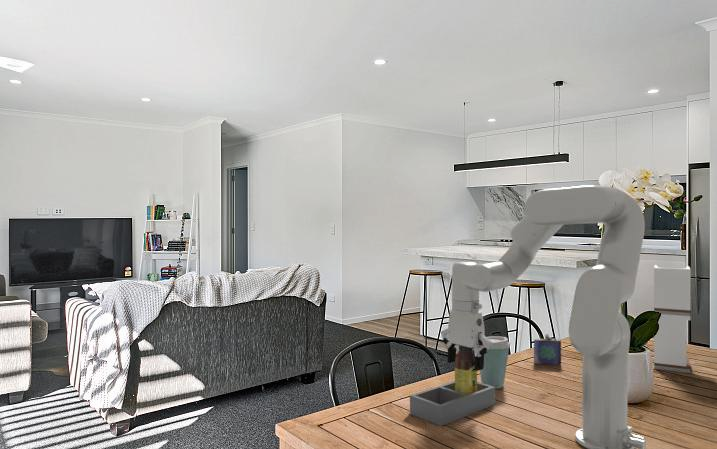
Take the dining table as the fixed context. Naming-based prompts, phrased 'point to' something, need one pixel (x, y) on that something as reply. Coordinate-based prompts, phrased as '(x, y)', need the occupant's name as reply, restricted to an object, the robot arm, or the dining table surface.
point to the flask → (547, 351)
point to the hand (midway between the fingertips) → (465, 365)
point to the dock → (450, 403)
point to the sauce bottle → (465, 371)
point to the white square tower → (672, 317)
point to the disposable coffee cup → (495, 362)
